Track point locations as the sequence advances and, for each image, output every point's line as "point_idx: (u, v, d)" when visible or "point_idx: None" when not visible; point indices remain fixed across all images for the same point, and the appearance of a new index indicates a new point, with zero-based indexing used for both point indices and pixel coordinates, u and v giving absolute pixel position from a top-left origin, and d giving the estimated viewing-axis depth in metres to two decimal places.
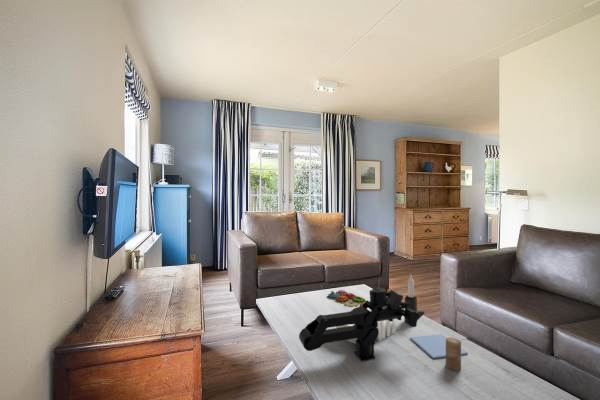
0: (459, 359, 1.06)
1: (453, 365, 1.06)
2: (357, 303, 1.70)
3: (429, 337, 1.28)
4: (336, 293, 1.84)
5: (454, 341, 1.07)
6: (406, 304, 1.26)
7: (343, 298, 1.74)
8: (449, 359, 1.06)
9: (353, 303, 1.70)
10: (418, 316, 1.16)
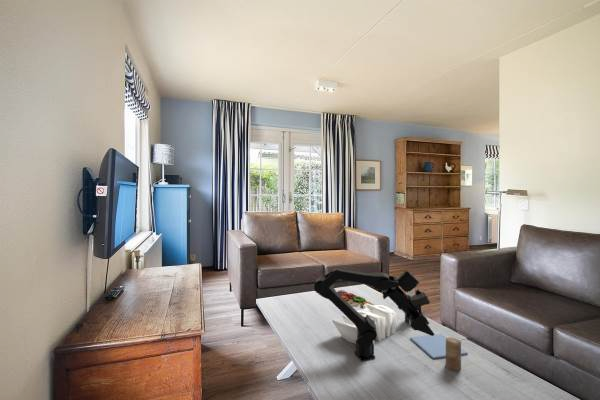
0: (459, 359, 1.06)
1: (453, 365, 1.06)
2: (357, 303, 1.69)
3: (429, 337, 1.28)
4: None
5: (454, 341, 1.07)
6: None
7: (343, 298, 1.74)
8: (449, 359, 1.06)
9: (353, 303, 1.70)
10: (425, 330, 1.05)
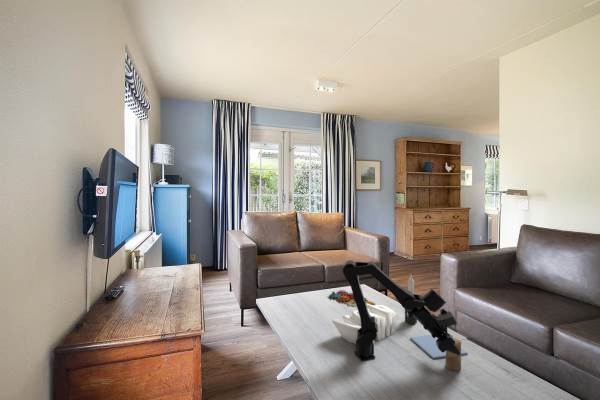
0: (459, 359, 1.06)
1: (453, 365, 1.06)
2: None
3: (429, 337, 1.28)
4: (337, 293, 1.84)
5: None
6: None
7: (345, 298, 1.73)
8: (449, 359, 1.06)
9: (355, 303, 1.70)
10: (451, 349, 1.04)
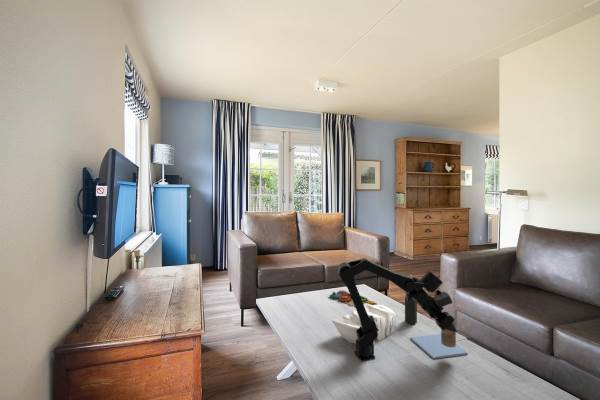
0: (454, 336, 1.11)
1: (450, 342, 1.11)
2: None
3: (429, 337, 1.28)
4: (337, 293, 1.83)
5: None
6: None
7: (346, 298, 1.73)
8: (446, 337, 1.11)
9: None
10: (448, 327, 1.09)
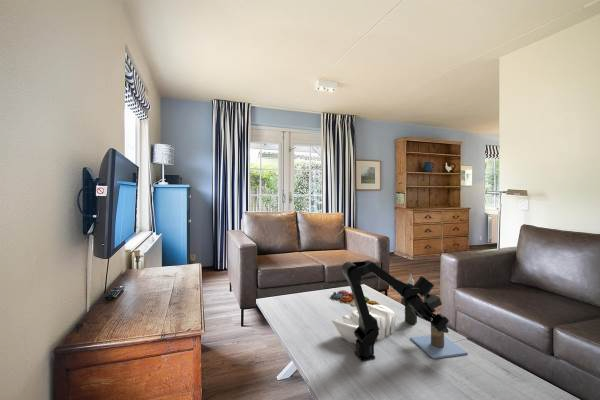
0: (443, 337, 1.20)
1: (440, 343, 1.20)
2: None
3: (429, 337, 1.28)
4: (338, 293, 1.83)
5: None
6: (431, 319, 1.26)
7: (348, 298, 1.73)
8: (437, 338, 1.20)
9: None
10: (443, 329, 1.16)
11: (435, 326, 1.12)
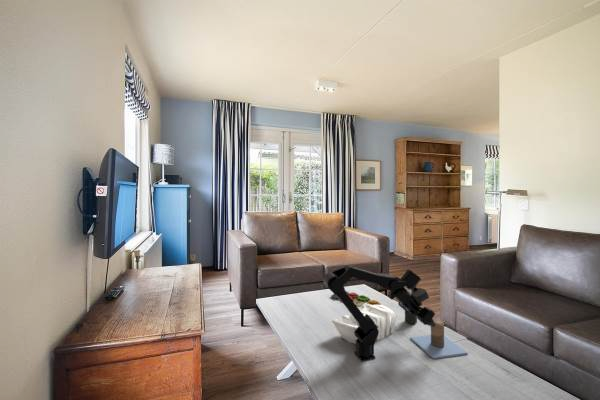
0: (443, 337, 1.20)
1: (440, 343, 1.20)
2: (363, 302, 1.71)
3: (429, 337, 1.28)
4: None
5: (438, 322, 1.21)
6: (419, 313, 1.25)
7: None
8: (437, 338, 1.20)
9: (359, 302, 1.71)
10: (430, 322, 1.15)
11: (421, 319, 1.11)
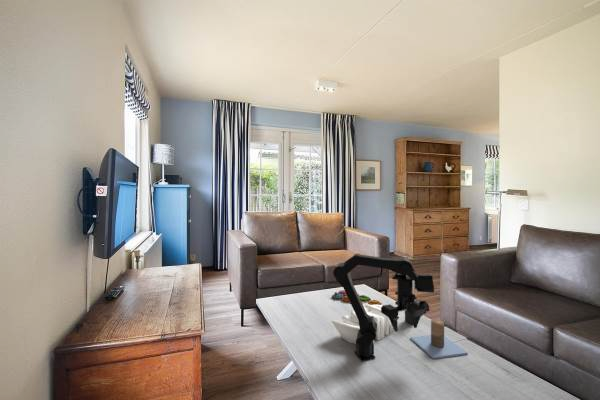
0: (443, 337, 1.20)
1: (440, 343, 1.20)
2: (364, 302, 1.71)
3: (429, 337, 1.28)
4: (339, 294, 1.83)
5: (439, 322, 1.21)
6: (415, 323, 1.12)
7: None
8: (437, 338, 1.20)
9: None
10: (392, 322, 1.09)
11: None
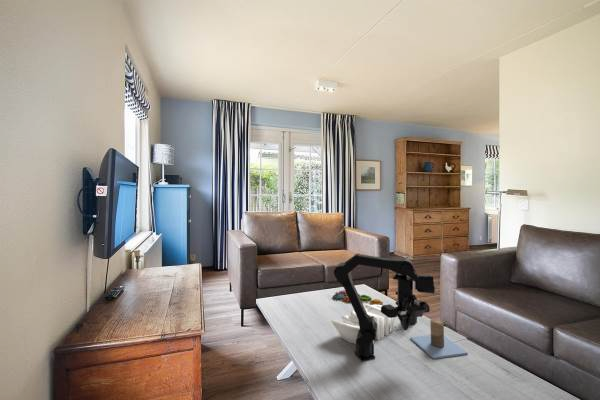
0: (443, 336, 1.20)
1: (440, 343, 1.20)
2: (366, 302, 1.72)
3: (429, 337, 1.28)
4: (340, 294, 1.83)
5: (438, 322, 1.22)
6: None
7: None
8: (436, 338, 1.20)
9: (362, 302, 1.71)
10: (401, 320, 1.11)
11: None
